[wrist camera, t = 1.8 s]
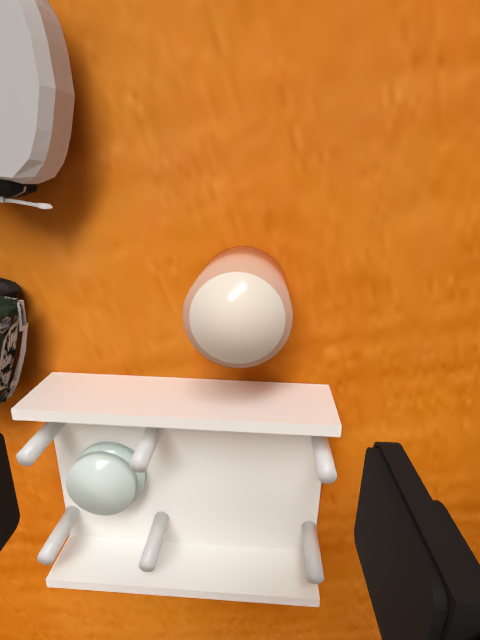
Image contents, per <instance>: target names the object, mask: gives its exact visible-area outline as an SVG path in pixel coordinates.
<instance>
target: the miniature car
mask: <svg viewBox="0 0 480 640" xmlns="http://www.w3.org/2000/svg"><path fill="white" fill-rule="evenodd" d="M19 291H20V286H19V285H18V284H17V283H15V282H12V281H10V280H7V279H3V278H0V403H3V402H5V401H6V399H7V398H10V397H11V396H12V394H13V392H14V390H15V388H16V386H17V384H18V382H19V379H20V373H21V369H22V365H23V361H24V357H25V353H26V342H27V331H28V325H29V323H26V315H25V307H24V300H19V301H17V298H18V294H19ZM21 314H22V318H21ZM19 330H20V332H21V331H23V333H22V340H21V347H20V354H19V359H18V362H17V366H16V370H15V374H14V378H13V380H12V382H11V376H12V370H13V364H14V358H15V352H16V345H17V339H18V333H19ZM10 383H11V384H10Z"/></svg>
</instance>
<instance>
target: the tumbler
mask: <svg viewBox="0 0 480 640" xmlns="http://www.w3.org/2000/svg"><path fill="white" fill-rule="evenodd" d="M292 322H293V312H292V306H291V301H290V296H289V292H288V287H287V283H286V279H285V275H284V273H283V270H282V269H281V267H280V265H279V264H278V263H277V262H276V260H275V259H274V258H273V257H271V256H270V255H269V254H267V253H266V252H264V251H262V250H260V249H257V248H253V247H247V246H238V247H232V248H229V249H226V250H224V251H222V252H220V253H219V254H217V255H216V256H215V257H213V258H212V259H211V261H210V262H209V263H208V264H207V266H206V267H205V268H204V270H203V271H202V273H201V274H200V276H199V277H198V278H197V280H196V281H195V283H194V284H193V285H192V287H191V288H190V290H189V292H188V294H187V296H186V299H185V302H184V307H183V323H184V328H185V331H186V334H187V336H188V338H189V340H190V342H191V343H192V344H193V346H194V347H195V348H196V349H197V351H198V352H199V353H201V354H202V355H203V356H204V357H206V358H207V359H209V360H210V361H212V362H214V363H216V364H219V365H222V366H226V367H231V368H247V367H252V366H256V365H259V364H262V363H264V362H266V361H267V360H269V359H271V358H272V357H273V356H275V355H276V354H277V353H278V352H279V351H280V350H281V349H282V347H283V346H284V345H285V343H286V341H287V339H288V337H289V335H290V332H291V328H292Z"/></svg>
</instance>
